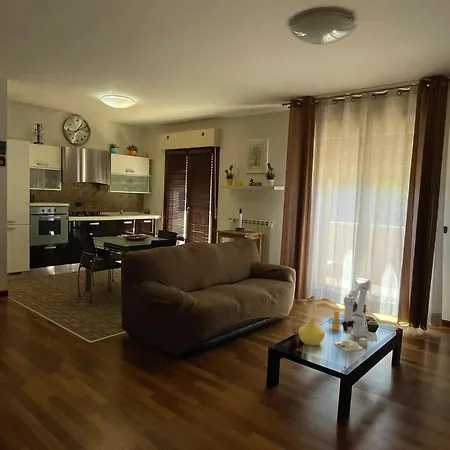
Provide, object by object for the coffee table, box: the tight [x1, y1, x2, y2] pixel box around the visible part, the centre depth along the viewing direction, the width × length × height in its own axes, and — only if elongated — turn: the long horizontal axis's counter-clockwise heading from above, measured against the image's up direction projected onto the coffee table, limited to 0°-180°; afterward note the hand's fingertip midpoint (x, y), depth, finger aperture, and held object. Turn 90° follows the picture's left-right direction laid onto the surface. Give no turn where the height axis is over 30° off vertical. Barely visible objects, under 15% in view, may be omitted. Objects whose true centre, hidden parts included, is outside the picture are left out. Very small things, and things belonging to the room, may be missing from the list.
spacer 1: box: [342, 325, 353, 335], centre depth 284 cm, size 4×4×5 cm
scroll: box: [353, 301, 367, 316], centre depth 321 cm, size 15×15×20 cm
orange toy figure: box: [327, 309, 343, 331], centre depth 311 cm, size 12×10×15 cm
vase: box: [298, 316, 325, 347], centre depth 278 cm, size 18×18×19 cm
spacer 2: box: [358, 337, 368, 348], centre depth 279 cm, size 4×4×5 cm
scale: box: [333, 339, 364, 352], centre depth 276 cm, size 15×13×2 cm
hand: (347, 330), depth 284 cm, fingers closed on spacer 1, 4 cm apart
